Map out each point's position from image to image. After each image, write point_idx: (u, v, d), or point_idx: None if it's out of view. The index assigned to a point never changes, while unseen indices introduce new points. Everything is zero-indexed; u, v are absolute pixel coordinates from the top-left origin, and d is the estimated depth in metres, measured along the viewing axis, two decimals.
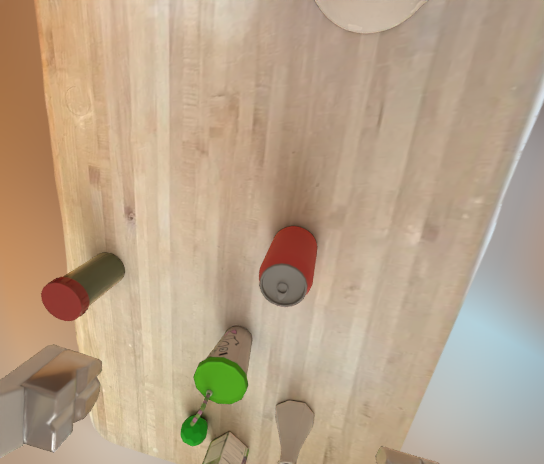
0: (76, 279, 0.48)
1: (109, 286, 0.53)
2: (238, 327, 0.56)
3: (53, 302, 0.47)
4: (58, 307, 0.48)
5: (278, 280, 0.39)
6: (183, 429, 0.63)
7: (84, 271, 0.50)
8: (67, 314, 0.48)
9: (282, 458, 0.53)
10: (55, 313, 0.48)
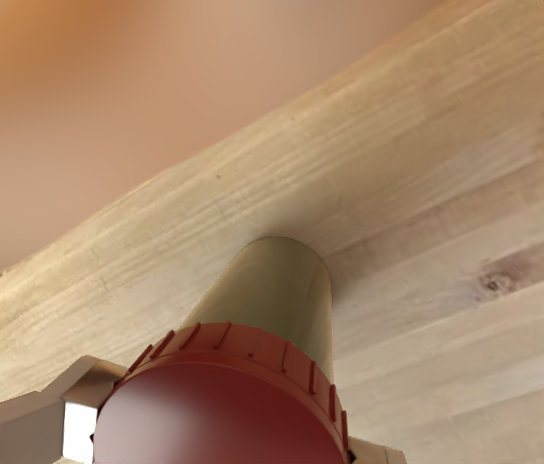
0: None
1: None
2: None
3: (176, 440, 0.08)
4: None
5: None
6: None
7: (330, 348, 0.11)
8: None
9: None
10: (116, 462, 0.08)
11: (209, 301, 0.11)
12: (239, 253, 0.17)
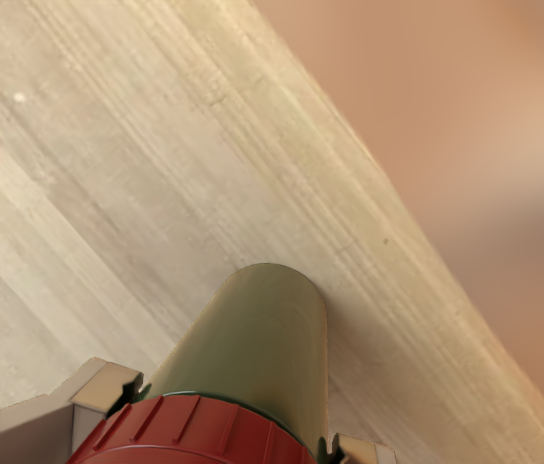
0: None
1: None
2: None
3: None
4: None
5: None
6: None
7: None
8: None
9: None
10: None
11: (309, 385, 0.09)
12: (305, 285, 0.15)
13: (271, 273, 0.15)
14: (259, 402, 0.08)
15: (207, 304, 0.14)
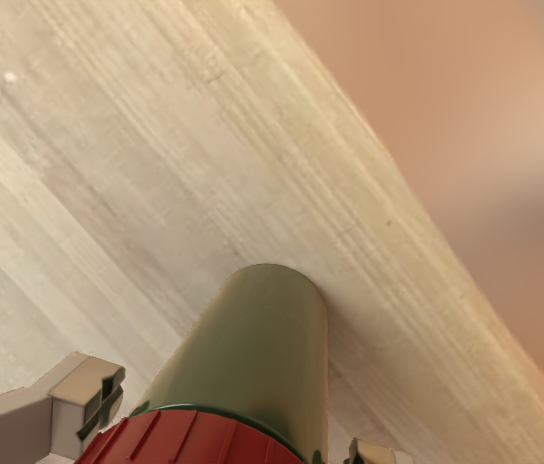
0: None
1: None
2: None
3: None
4: None
5: None
6: None
7: None
8: None
9: None
10: None
11: (308, 393, 0.09)
12: (305, 286, 0.15)
13: (271, 274, 0.15)
14: (258, 414, 0.07)
15: (207, 306, 0.14)
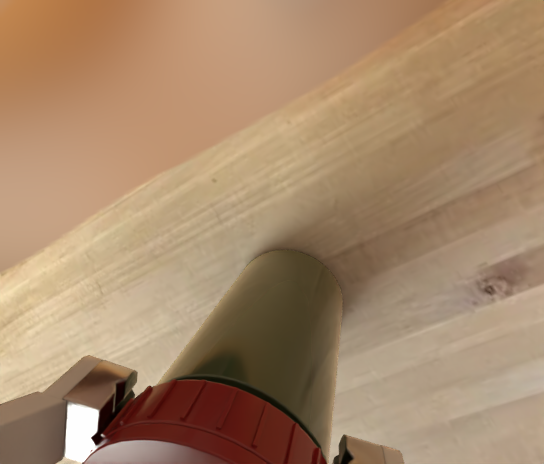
0: (326, 457, 0.09)
1: None
2: None
3: None
4: None
5: None
6: None
7: (331, 387, 0.11)
8: None
9: None
10: None
11: (205, 335, 0.11)
12: (247, 267, 0.17)
13: None
14: None
15: None
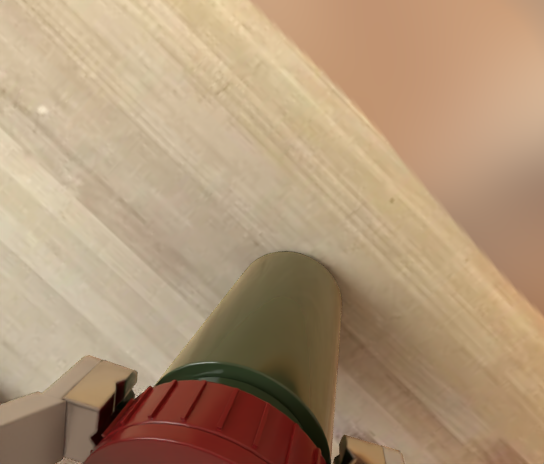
0: None
1: None
2: None
3: None
4: None
5: None
6: None
7: None
8: None
9: None
10: None
11: (310, 354, 0.11)
12: (315, 268, 0.16)
13: (281, 260, 0.16)
14: (259, 367, 0.09)
15: None
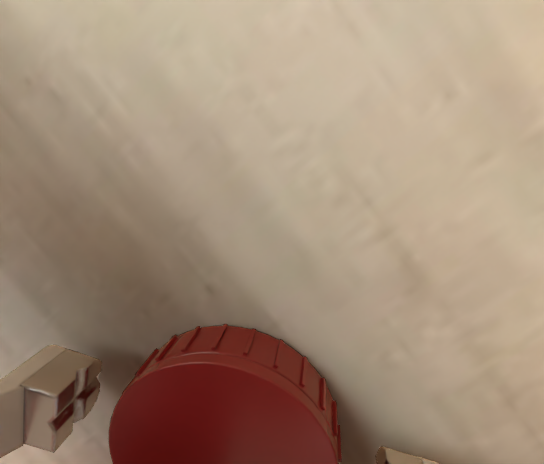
0: None
1: None
2: None
3: None
4: None
5: None
6: None
7: None
8: None
9: None
10: None
11: None
12: None
13: None
14: None
15: None
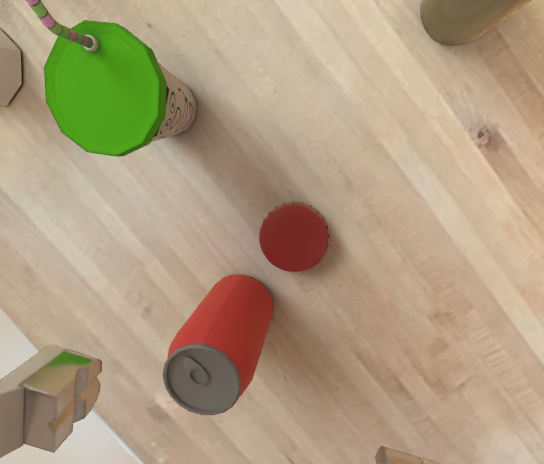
0: None
1: (439, 1, 0.22)
2: (188, 127, 0.30)
3: (281, 245, 0.31)
4: (290, 251, 0.31)
5: (213, 380, 0.23)
6: None
7: None
8: (306, 256, 0.31)
9: None
10: (287, 264, 0.31)
11: None
12: None
13: None
14: None
15: None
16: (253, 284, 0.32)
